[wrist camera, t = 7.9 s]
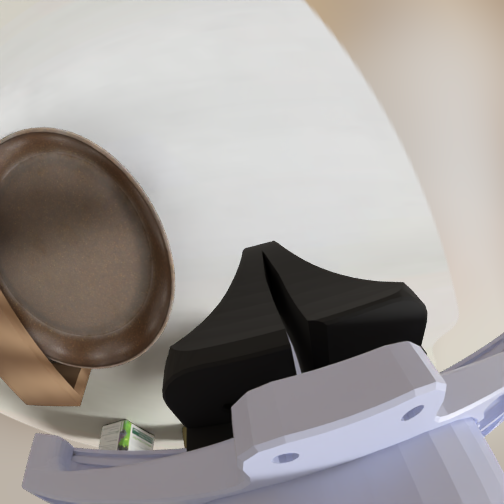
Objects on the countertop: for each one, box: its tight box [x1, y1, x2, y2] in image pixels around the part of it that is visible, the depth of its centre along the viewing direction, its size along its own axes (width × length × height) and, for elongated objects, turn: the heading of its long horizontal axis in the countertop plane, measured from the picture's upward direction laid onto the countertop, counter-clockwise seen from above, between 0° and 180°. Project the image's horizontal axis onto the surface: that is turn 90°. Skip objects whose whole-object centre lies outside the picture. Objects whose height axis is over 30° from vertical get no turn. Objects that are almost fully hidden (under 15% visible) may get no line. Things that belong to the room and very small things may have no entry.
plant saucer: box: [0, 127, 175, 369], centre depth 19 cm, size 21×21×3 cm
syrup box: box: [98, 420, 154, 451], centre depth 26 cm, size 6×6×14 cm
